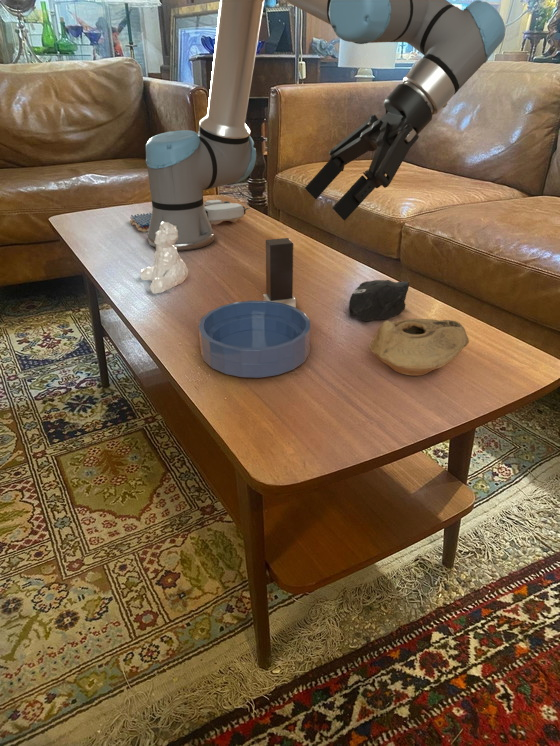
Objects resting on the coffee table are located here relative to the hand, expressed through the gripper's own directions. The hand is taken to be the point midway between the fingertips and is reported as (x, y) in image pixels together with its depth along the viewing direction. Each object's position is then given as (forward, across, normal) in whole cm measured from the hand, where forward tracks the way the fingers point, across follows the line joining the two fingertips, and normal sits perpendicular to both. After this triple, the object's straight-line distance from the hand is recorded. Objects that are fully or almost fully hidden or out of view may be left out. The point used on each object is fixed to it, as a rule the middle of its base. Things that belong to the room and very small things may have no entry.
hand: (323, 203), depth 90 cm
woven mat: (+30, +57, +5) cm, 65 cm away
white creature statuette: (+31, +17, +6) cm, 36 cm away
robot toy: (+18, +57, -7) cm, 60 cm away
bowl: (+24, -15, -1) cm, 28 cm away
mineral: (+7, -7, -18) cm, 21 cm away
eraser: (+18, 0, -7) cm, 19 cm away
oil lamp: (+8, -25, -17) cm, 31 cm away
